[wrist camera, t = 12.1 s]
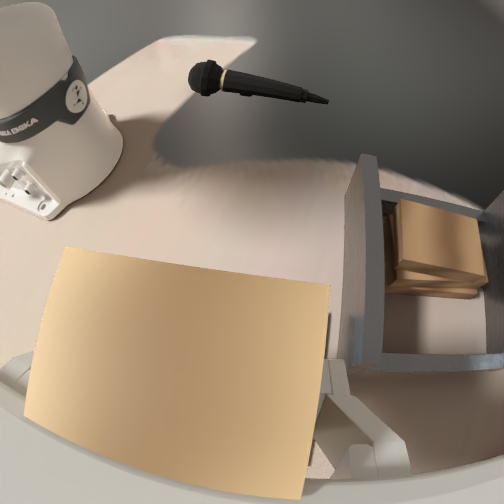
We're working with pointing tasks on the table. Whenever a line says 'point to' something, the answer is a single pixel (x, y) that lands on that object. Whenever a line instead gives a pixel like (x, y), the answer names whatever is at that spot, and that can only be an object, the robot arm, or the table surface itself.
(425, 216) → the offcut stack
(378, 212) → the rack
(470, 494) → the robot arm
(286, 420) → the tan wooden block
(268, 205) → the table surface
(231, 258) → the table surface
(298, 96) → the microphone
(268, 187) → the table surface
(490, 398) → the table surface
